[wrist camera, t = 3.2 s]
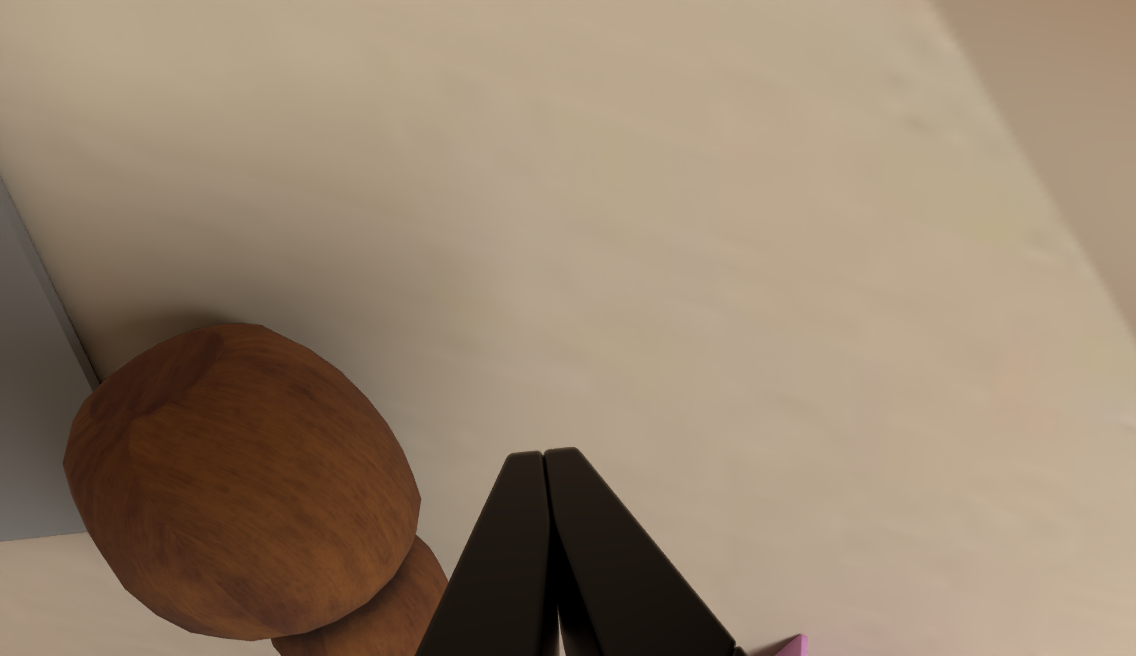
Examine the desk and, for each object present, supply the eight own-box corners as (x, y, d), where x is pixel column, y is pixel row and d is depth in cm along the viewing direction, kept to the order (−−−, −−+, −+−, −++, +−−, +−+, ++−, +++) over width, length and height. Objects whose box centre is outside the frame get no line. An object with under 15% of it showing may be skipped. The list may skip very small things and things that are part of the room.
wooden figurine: (83, 339, 19) (363, 636, 28) (-51, 522, 14) (335, 808, 23) (322, 258, 18) (534, 592, 27) (260, 427, 14) (540, 762, 22)
